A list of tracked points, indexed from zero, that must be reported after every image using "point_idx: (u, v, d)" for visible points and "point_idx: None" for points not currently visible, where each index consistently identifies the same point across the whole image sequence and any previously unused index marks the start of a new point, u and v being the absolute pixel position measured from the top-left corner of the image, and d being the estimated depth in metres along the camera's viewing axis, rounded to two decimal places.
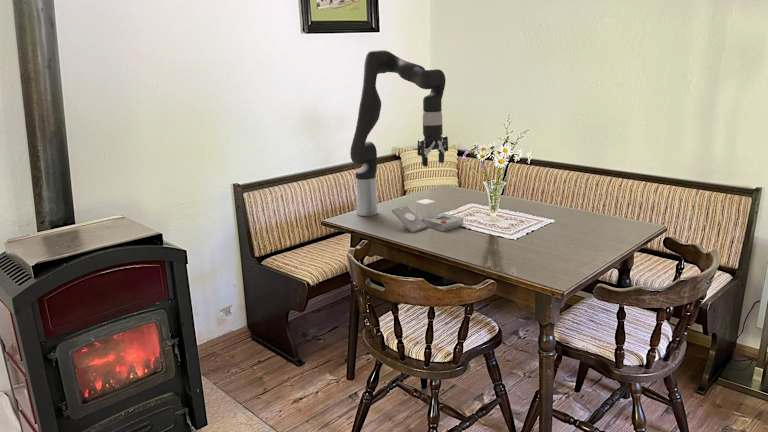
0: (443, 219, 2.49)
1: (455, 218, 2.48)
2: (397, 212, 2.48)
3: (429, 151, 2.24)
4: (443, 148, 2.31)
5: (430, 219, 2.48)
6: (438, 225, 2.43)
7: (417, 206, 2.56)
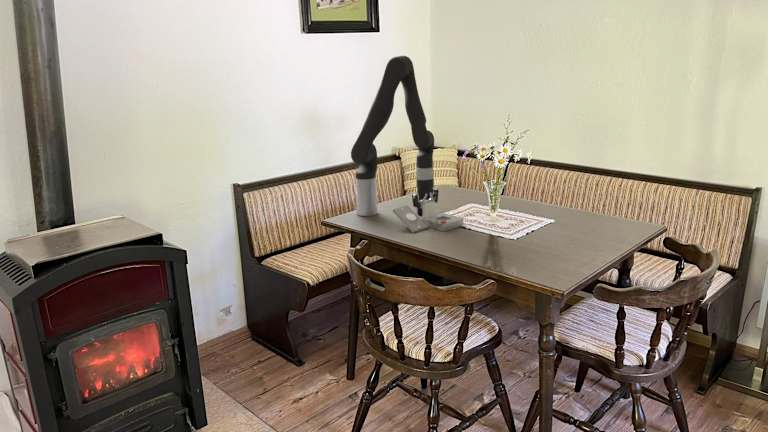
0: (443, 219, 2.49)
1: (455, 218, 2.48)
2: (398, 212, 2.48)
3: None
4: None
5: (430, 219, 2.48)
6: (438, 225, 2.43)
7: None
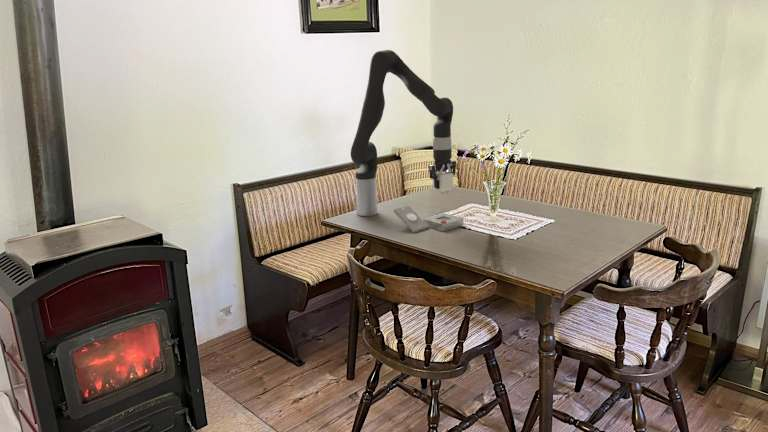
0: (443, 219, 2.49)
1: (455, 218, 2.48)
2: (399, 212, 2.48)
3: (440, 174, 2.41)
4: (450, 172, 2.47)
5: (430, 219, 2.48)
6: (438, 225, 2.43)
7: None
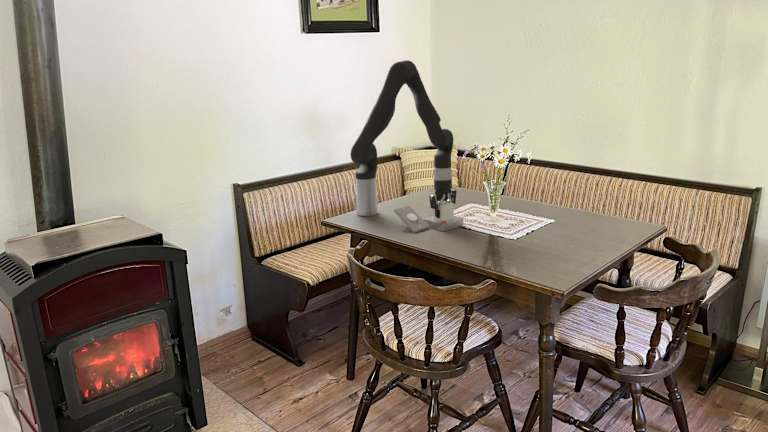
0: None
1: (455, 218, 2.48)
2: (399, 212, 2.48)
3: (441, 204, 2.44)
4: (451, 201, 2.50)
5: (430, 219, 2.48)
6: (438, 225, 2.43)
7: None
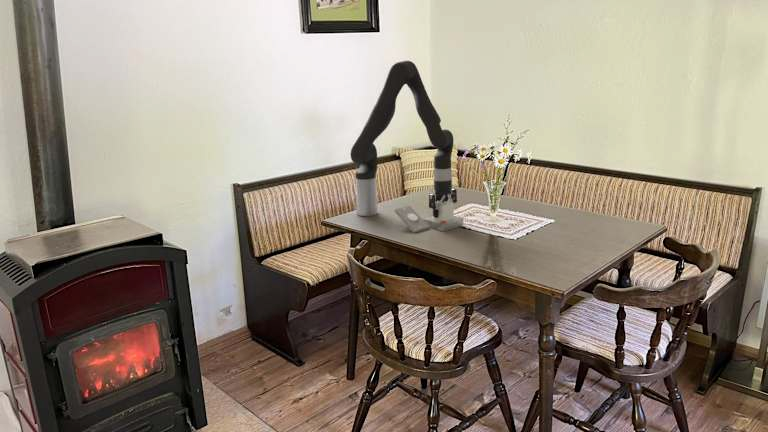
0: None
1: (455, 218, 2.48)
2: (400, 212, 2.48)
3: (439, 204, 2.44)
4: (452, 200, 2.51)
5: (430, 219, 2.48)
6: (438, 225, 2.43)
7: None
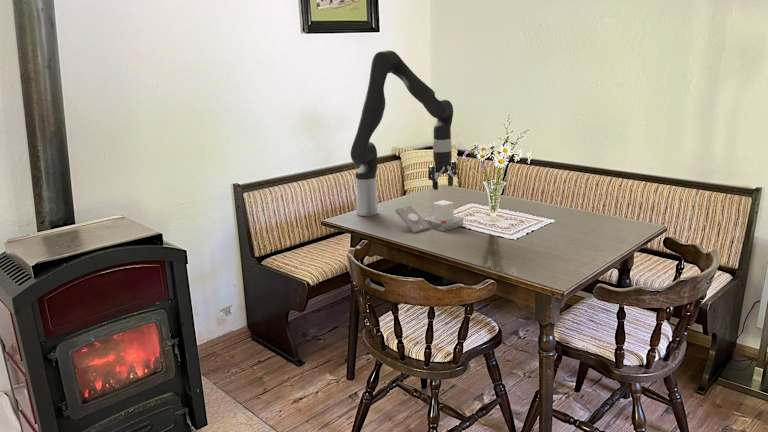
0: None
1: (455, 218, 2.48)
2: (400, 212, 2.48)
3: (439, 176, 2.40)
4: (452, 172, 2.47)
5: (430, 219, 2.48)
6: (438, 225, 2.43)
7: (434, 207, 2.47)
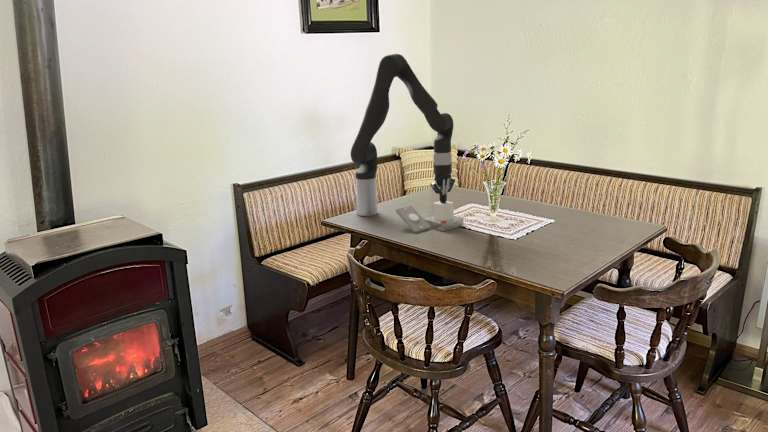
0: None
1: (455, 218, 2.48)
2: (401, 212, 2.48)
3: None
4: None
5: (430, 219, 2.48)
6: (438, 225, 2.43)
7: (434, 207, 2.47)
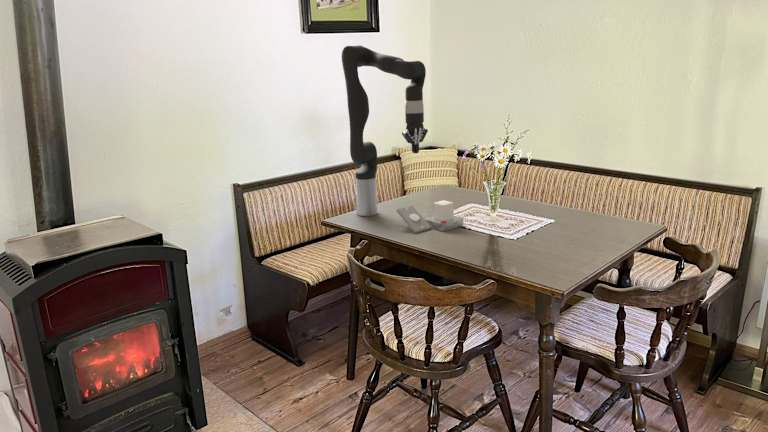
0: None
1: (455, 218, 2.48)
2: (402, 212, 2.48)
3: (416, 138, 2.42)
4: None
5: (430, 219, 2.48)
6: (438, 225, 2.43)
7: (434, 207, 2.47)
